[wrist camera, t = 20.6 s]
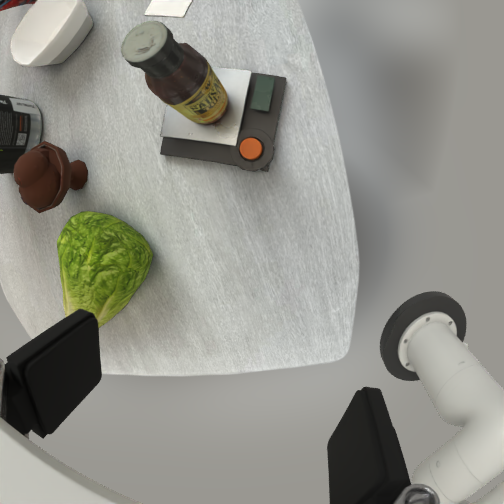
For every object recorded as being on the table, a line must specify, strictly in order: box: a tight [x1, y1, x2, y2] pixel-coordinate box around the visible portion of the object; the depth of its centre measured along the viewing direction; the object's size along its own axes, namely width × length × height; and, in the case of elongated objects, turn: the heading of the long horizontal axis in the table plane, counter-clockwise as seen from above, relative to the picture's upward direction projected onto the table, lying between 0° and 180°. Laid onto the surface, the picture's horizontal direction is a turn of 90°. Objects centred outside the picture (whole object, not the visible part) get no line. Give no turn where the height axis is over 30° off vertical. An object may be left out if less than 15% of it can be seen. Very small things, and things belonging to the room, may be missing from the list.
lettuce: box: [57, 211, 153, 328], centre depth 42 cm, size 14×24×15 cm
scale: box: [160, 73, 286, 172], centre depth 38 cm, size 16×14×3 cm
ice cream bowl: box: [14, 141, 88, 213], centre depth 37 cm, size 11×11×15 cm
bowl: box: [11, 0, 93, 67], centre depth 33 cm, size 18×18×9 cm
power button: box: [240, 138, 262, 160], centre depth 37 cm, size 3×3×2 cm
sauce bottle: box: [121, 21, 228, 124], centre depth 26 cm, size 7×6×20 cm
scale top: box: [160, 67, 275, 146], centre depth 36 cm, size 14×11×1 cm
